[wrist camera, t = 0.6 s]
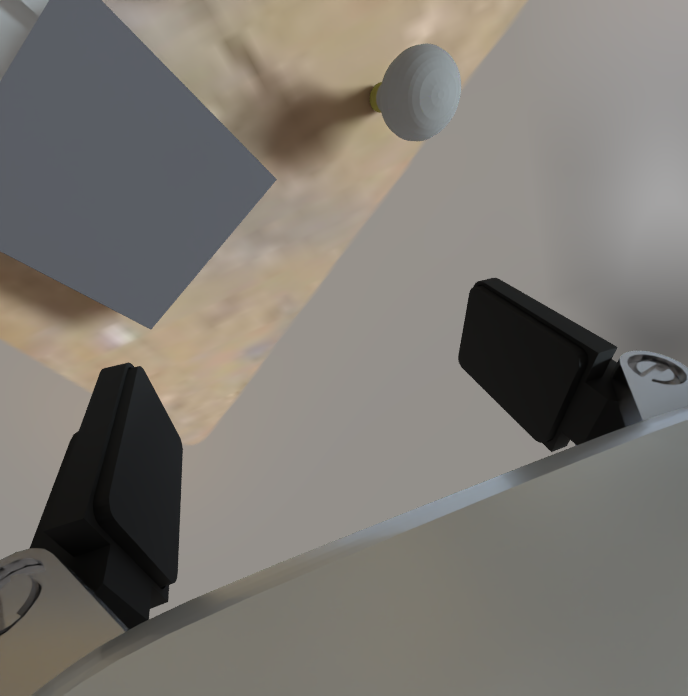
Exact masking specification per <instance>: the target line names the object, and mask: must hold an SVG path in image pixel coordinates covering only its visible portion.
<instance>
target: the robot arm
mask: <svg viewBox="0 0 688 696" xmlns="http://www.w3.org/2000/svg"><path fill="white" fill-rule="evenodd" d="M616 349H617V347H616V346H614V345H613V344H611V343H609V342H607V341H606V340H604V339H602V338H601V337H599V336H597V335H596V334H594V333H592V332H590V331H589V330H587V329H585V328H583V327H581V326H580V325H578V324H576V323H575V322H573V321H571V320H569V319H568V318H566V317H564V316H562V315H561V314H559V313H557V312H555V311H554V310H552V309H550V308H548V307H547V306H545V305H543V304H541V303H540V302H538V301H536V300H535V299H533V298H531V297H529V296H528V295H525V294H524V293H522V292H521V291H519V290H517V289H515V288H514V287H512V286H510V285H508V284H507V283H505V282H503V281H501V280H500V279H497V278H491V279H487V280H482V281H478V282H477V283H475V285H474V287H473V288H472V289H471V290H470V293H469V298H468V304H467V310H466V316H465V321H464V328H463V333H462V338H461V344H460V350H459V356H458V360H459V363H460V365H461V367H462V368H463V369H464V370H465V371H466V372H467V373H468V374H469V375H470V376H471V377H472V378H473V379H474V380H475V381H476V382H477V383H478V384H479V385H480V386H481V387H482V388H483V389H484V390H485V391H486V392H487V393H488V394H489V395H490V396H491V397H492V398H493V399H494V400H495V401H496V402H497V403H498V404H499V405H500V406H501V407H502V408H503V409H504V410H505V411H506V412H507V413H508V414H509V415H510V416H511V417H512V418H513V419H514V420H516V422H517V423H519V425H520V426H521V427H523V428H524V429H525V430H526V431H527V432H528V433H529V434H530V435H531V436H532V437H533V438H534V439H535V440H536V441H538V442H540V443H543V444H544V445H545V446H546V447H547V448H548V449H549V450H550V451H551V452H552V451H555V450H558V449H560V448H563V447H565V446H567V444H568V442H569V441H570V440H571V441H573V442H574V443H575V446H574V447H572V448H569V449H566V450H564V451H561V452H559V453H556V454H554V455H551V456H548V457H546V458H544V459H541V460H538V461H535V462H533V463H531V464H528V465H525V466H523V467H520V468H518V469H515V470H512V471H510V472H507V473H505V474H502V475H500V476H497V477H495V478H492V479H489V480H487V481H484V482H482V483H479V484H477V485H474V486H472V487H469V488H467V489H464V490H461V491H459V492H456V493H454V494H451V495H449V496H446V497H444V498H441V499H439V500H436V501H434V502H431V503H428V504H426V505H423V506H421V507H418V508H416V509H413V510H411V511H409V512H406V513H403V514H401V515H398V516H396V517H393V518H391V519H388V520H386V521H383V522H381V523H378V524H376V525H373V526H371V527H368V528H366V529H363V530H361V531H358V532H356V533H353V534H351V535H348V536H346V537H343V538H341V539H338V540H336V541H333V542H331V543H328V544H326V545H323V546H321V547H318V548H316V549H313V550H311V551H308V552H306V553H303V554H301V555H298V556H296V557H293V558H290V559H288V560H286V561H283V562H280V563H278V564H276V565H273V566H271V567H269V568H266V569H264V570H261V571H259V572H257V573H254V574H252V575H250V576H247V577H245V578H243V579H240V580H237V581H235V582H233V583H231V584H228V585H226V586H223V587H221V588H218V589H216V590H214V591H211V592H209V593H206V594H204V595H202V596H199V597H197V598H195V599H192V600H190V601H188V602H186V603H184V604H182V605H179V606H177V607H175V608H173V609H171V610H169V611H166V612H164V613H162V614H160V615H158V616H156V617H154V618H152V619H149V611H150V609H151V608H153V607H156V606H158V605H161V604H164V603H166V602H168V594H169V593H168V591H169V585H170V584H172V583H175V581H176V579H177V573H178V550H179V525H180V501H181V477H182V476H181V475H182V453H183V451H182V450H183V448H182V443H181V439H180V437H179V435H178V433H177V431H176V429H175V427H174V425H173V424H172V422H171V420H170V418H169V416H168V414H167V412H166V410H165V408H164V407H163V405H162V403H161V401H160V399H159V397H158V395H157V393H156V392H155V390H154V388H153V386H152V384H151V382H150V380H149V378H148V376H147V375H146V373H145V371H144V369H143V368H142V367H141V366H138V367H134V366H133V365H132V364H131V363H125V364H121V365H116V366H112V367H108V368H104V369H102V370H101V372H100V374H99V377H98V380H97V383H96V385H95V388H94V391H93V394H92V396H91V399H90V402H89V405H88V407H87V410H86V413H85V416H84V418H83V421H82V424H81V427H80V429H79V431H78V432H77V433H75V434H74V435H73V437H72V439H71V441H70V443H69V446H68V448H67V451H66V454H65V456H64V459H63V461H62V464H61V467H60V470H59V472H58V475H57V477H56V480H55V483H54V485H53V488H52V491H51V493H50V496H49V499H48V501H47V504H46V506H45V509H44V512H43V514H42V517H41V520H40V523H39V525H38V528H37V530H36V533H35V536H34V538H33V541H32V544H31V546H30V549H26V550H23V551H19V552H15V553H14V554H12V555H9V556H7V557H5V558H3V559H1V560H0V696H688V368H687V367H686V366H684V365H683V364H682V363H680V362H678V361H676V360H674V359H672V358H670V357H667V356H664V355H661V354H658V353H653V352H648V351H630V352H627V353H624V354H623V355H622V356H621V357H620V359H619V361H618V362H615V361H614V360H612V357H613V355H614V353H615V351H616Z"/></svg>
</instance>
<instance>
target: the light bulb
mask: <svg viewBox="0 0 688 696" xmlns="http://www.w3.org/2000/svg"><path fill="white" fill-rule="evenodd" d="M460 93H461V79H460V74H459V70H458V67H457V65H456V63H455V62H454V60H453V58H452V57H451V56H450V55H449V54H448V53H447V52H446V51H445V50H443V49H442V48H440V47H438V46H436V45H433V44H421V45H416V46H412V47H410V48H408V49H406V50H405V51H403V52H402V53H401V54H400V55H399V56H398V57H397V58H396V59H395V60H394V61H393V62H392V63H391V64H390V66H389V67H388V69H387V71H386V73H385V75H384V78H383V81H382V82H380V83H378V84H376V85H375V86H374V87H373V89H372V91H371V93H370V104H371V107H372V109H373V110H375V111H376V112H381V113H382V116H383V119H384V121H385V123H386V125H387V126H388V127H389V129H390V130H391V131H392V132H393V133H395V134H396V135H397V136H398V137H400V138H402V139H404V140H408V141H423V140H427V139H429V138H431V137H433V136H434V135H436V134H438V133H439V132H440V131H441V130H443V129H444V127H445V126H446V125H447V124H448V123H449V122H450V120H451V119H452V117H453V115H454V113H455V111H456V109H457V106H458V103H459V99H460Z"/></svg>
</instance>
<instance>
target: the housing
mask: <svg viewBox="0 0 688 696" xmlns="http://www.w3.org/2000/svg"><path fill="white" fill-rule="evenodd" d="M276 180H277V179H276V178H275V177H274V176H273V175H272V174H271V173H270V172H269V171H268V170H267V169H266V168H265V167H264V166H263V165H262V164H261V163H260V162H259V161H258V160H257V159H256V158H255V157H254V156H253V155H252V154H251V153H250V152H249V151H248V150H247V149H246V148H245V147H244V146H243V145H242V143H241V142H240V141H239V140H238V139H237V138H236V137H235V136H234V135H233V134H232V133H231V132H230V131H229V130H228V129H227V128H226V127H225V126H224V125H223V124H222V123H221V122H220V121H219V120H218V119H217V118H216V117H215V116H214V115H213V114H212V113H211V112H210V111H209V110H208V109H207V108H206V107H205V106H204V105H203V104H202V103H201V102H200V101H199V100H198V99H197V98H196V97H195V95H194V94H193V93H192V92H191V91H190V90H189V89H188V88H187V87H186V86H185V85H184V84H183V83H182V82H181V81H180V80H179V79H178V78H177V77H176V76H175V75H174V74H173V73H172V72H171V71H170V70H169V69H168V68H167V67H166V66H165V65H164V64H163V63H162V62H161V61H160V60H159V59H158V58H157V57H156V56H155V55H154V54H153V53H152V52H151V51H150V50H149V49H148V47H147V46H146V45H145V44H144V43H143V42H142V41H141V40H140V39H139V38H138V37H137V36H136V35H135V34H134V33H133V32H132V31H131V30H130V29H129V28H128V27H127V26H126V25H125V24H124V23H123V22H122V21H121V20H120V19H119V18H118V17H117V16H116V15H115V14H114V13H113V12H112V11H111V10H110V9H109V8H108V7H107V6H106V5H105V4H104V3H103V2H102V1H101V0H49V1H48V3H47V5H46V6H45V8H44V10H43V11H42V13H41V15H40V16H39V18H38V20H37V21H36V23H35V24H34V26H33V28H32V29H31V31H30V33H29V34H28V36H27V38H26V39H25V41H24V43H23V44H22V46H21V48H20V49H19V51H18V53H17V54H16V56H15V58H14V59H13V61H12V63H11V64H10V66H9V68H8V69H7V71H6V73H5V74H4V76H3V78H2V79H1V81H0V252H2V253H4V254H6V255H8V256H10V257H12V258H14V259H16V260H18V261H20V262H22V263H24V264H26V265H27V266H29V267H31V268H33V269H35V270H37V271H39V272H41V273H43V274H45V275H47V276H49V277H51V278H53V279H54V280H56V281H58V282H60V283H62V284H64V285H66V286H68V287H70V288H72V289H74V290H76V291H78V292H80V293H81V294H83V295H85V296H87V297H89V298H91V299H93V300H95V301H97V302H99V303H101V304H103V305H105V306H107V307H109V308H110V309H112V310H114V311H116V312H118V313H120V314H122V315H124V316H126V317H128V318H130V319H132V320H134V321H136V322H137V323H139V324H141V325H143V326H145V327H147V328H149V329H152V328H153V327H154V325H155V324H156V323H157V322H158V321H159V319H160V318H161V317H162V316H163V315H164V313H165V312H166V311H167V310H168V309H169V308H170V306H171V305H172V304H173V303H174V302H175V300H176V299H177V298H178V297H179V296H180V294H181V293H182V292H183V291H184V290H185V288H186V287H187V286H188V285H189V284H190V282H191V281H192V280H193V279H194V278H195V276H196V275H197V274H198V273H199V272H200V270H201V269H202V268H203V267H204V266H205V265H206V263H207V262H208V261H209V260H210V259H211V257H212V256H213V255H214V254H215V253H216V251H217V250H218V249H219V248H220V247H221V245H222V244H223V243H224V242H225V241H226V239H227V238H228V237H229V236H230V235H231V233H232V232H233V231H234V230H235V229H236V227H237V226H238V225H239V224H240V223H241V222H242V220H243V219H244V218H245V217H246V216H247V214H248V213H249V212H250V211H251V210H252V208H253V207H254V206H255V205H256V204H257V202H258V201H259V200H260V199H261V198H262V196H263V195H264V194H265V193H266V192H267V190H268V189H269V188H270V187H271V186H272V184H273V183H274V182H275V181H276Z"/></svg>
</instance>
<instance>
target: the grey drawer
mask: <svg viewBox="0 0 688 696" xmlns="http://www.w3.org/2000/svg"><path fill="white" fill-rule="evenodd" d="M48 1H49V0H0V81H1V79H2V78H3V76H4V74H5V73H6V71H7V69H8V68H9V66H10V64H11V63H12V61H13V59H14V58H15V56H16V54H17V53H18V51H19V49H20V48H21V46H22V44H23V43H24V41H25V39H26V38H27V36H28V34H29V33H30V31H31V29H32V28H33V26H34V24H35V23H36V21H37V20H38V18H39V16H40V15H41V13H42V11H43V10H44V8H45V6H46V5H47V3H48Z"/></svg>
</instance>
